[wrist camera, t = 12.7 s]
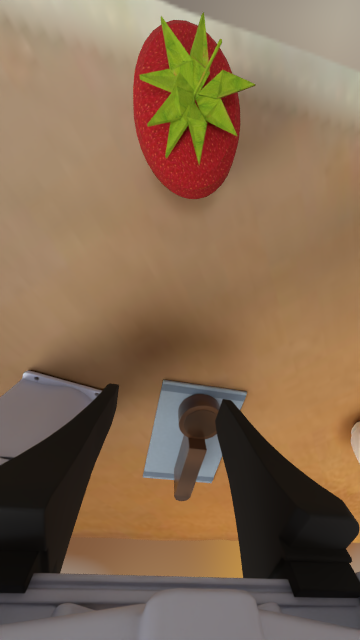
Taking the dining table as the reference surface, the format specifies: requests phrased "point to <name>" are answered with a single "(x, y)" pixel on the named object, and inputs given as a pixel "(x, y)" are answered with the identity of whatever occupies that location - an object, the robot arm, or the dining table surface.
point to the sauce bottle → (356, 440)
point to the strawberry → (186, 108)
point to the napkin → (170, 436)
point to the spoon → (193, 440)
